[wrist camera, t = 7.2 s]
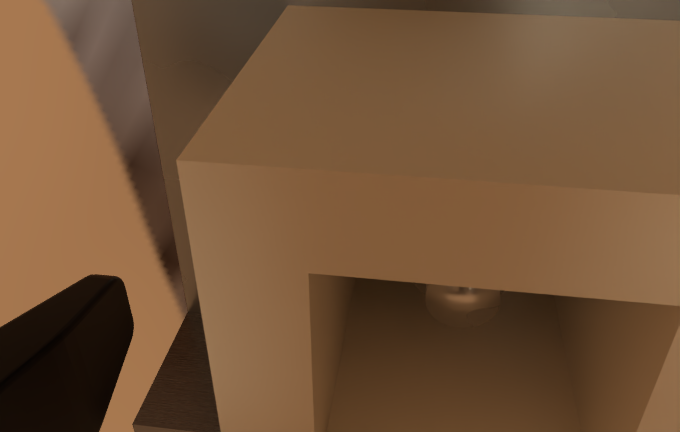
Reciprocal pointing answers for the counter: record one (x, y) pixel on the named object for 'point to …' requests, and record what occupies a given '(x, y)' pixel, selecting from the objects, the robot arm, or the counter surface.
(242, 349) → the collar
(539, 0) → the housing base
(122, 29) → the counter surface
